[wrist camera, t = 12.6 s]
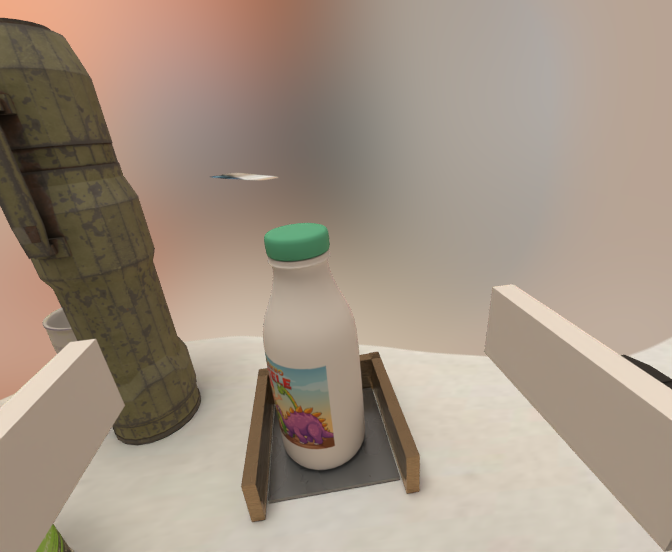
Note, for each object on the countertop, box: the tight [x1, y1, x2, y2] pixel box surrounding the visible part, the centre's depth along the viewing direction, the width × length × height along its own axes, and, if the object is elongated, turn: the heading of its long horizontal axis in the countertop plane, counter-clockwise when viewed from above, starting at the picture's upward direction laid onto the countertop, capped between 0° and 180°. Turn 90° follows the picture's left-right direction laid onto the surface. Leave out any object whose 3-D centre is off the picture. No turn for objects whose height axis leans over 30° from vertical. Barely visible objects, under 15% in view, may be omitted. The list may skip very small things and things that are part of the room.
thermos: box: [0, 18, 201, 445], centre depth 30 cm, size 9×12×35 cm
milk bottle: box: [263, 223, 365, 470], centre depth 27 cm, size 8×8×20 cm
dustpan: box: [241, 352, 420, 522], centre depth 31 cm, size 15×13×8 cm
